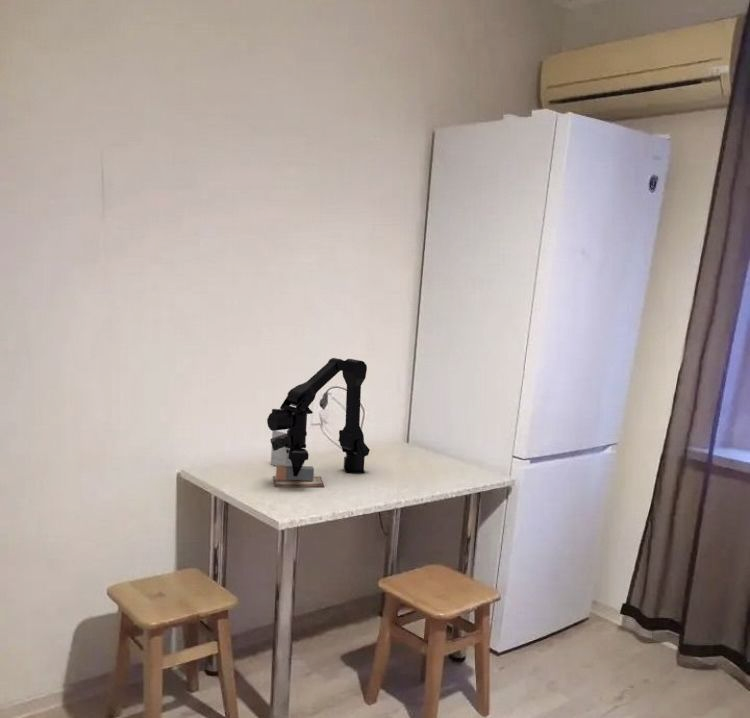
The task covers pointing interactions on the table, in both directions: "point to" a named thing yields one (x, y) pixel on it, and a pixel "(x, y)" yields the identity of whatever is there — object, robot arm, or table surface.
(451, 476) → the table surface
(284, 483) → the writing board
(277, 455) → the supplement box
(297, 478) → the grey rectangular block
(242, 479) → the table surface
